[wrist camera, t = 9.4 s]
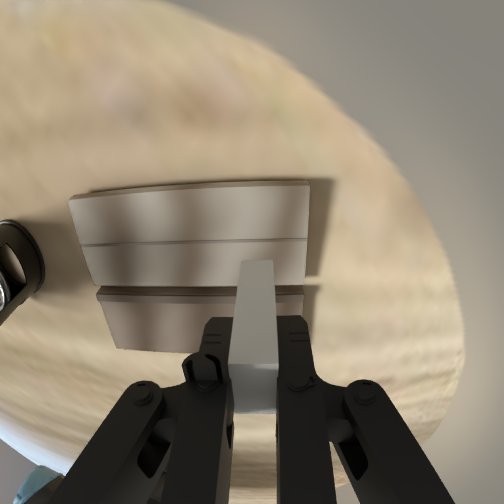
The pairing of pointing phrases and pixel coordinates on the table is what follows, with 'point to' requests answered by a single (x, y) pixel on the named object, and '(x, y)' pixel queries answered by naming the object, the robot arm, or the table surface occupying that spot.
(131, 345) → the laid board
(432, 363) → the table surface
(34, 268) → the french press
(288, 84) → the table surface
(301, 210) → the plank
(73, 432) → the table surface
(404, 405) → the table surface
